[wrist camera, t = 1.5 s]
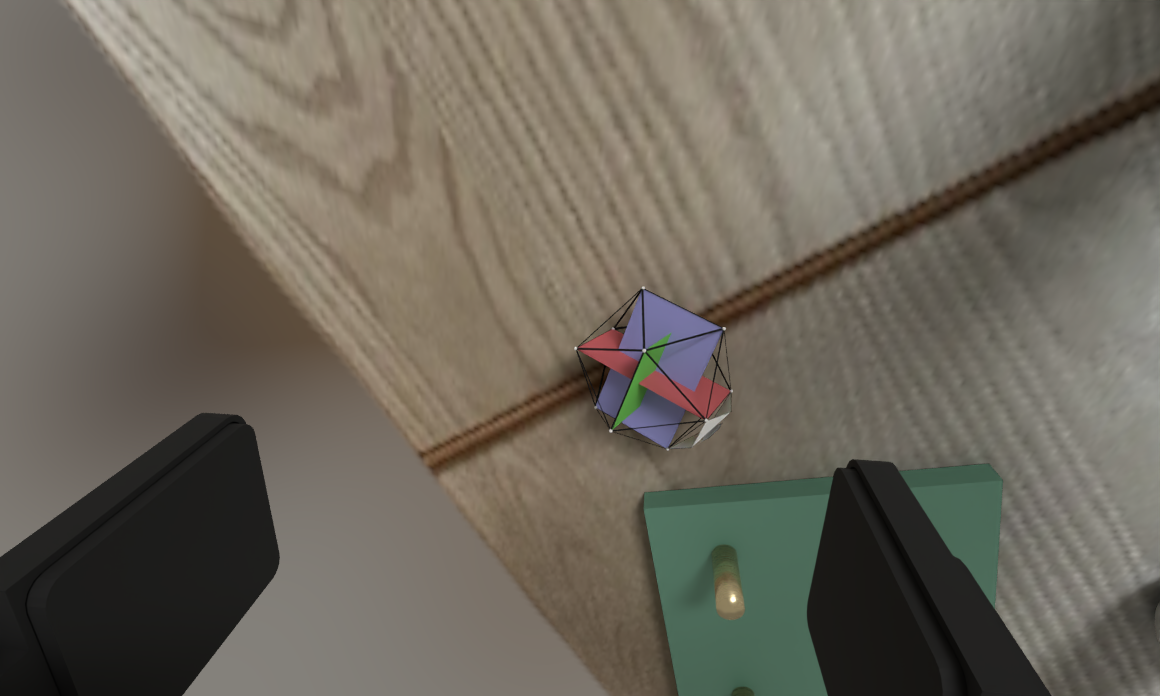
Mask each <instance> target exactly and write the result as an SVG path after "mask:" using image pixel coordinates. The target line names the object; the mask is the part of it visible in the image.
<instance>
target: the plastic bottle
mask: <svg viewBox="0 0 1160 696" xmlns="http://www.w3.org/2000/svg"><path fill="white" fill-rule="evenodd" d="M1155 632H1156V637H1157V639H1158V641H1159V643H1160V601H1159V603H1158V605H1157V608H1156V611H1155Z"/></svg>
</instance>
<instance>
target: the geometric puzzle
mask: <svg viewBox="0 0 1160 696" xmlns="http://www.w3.org/2000/svg"><path fill="white" fill-rule="evenodd" d="M638 292H639V293H638ZM638 292H637V293H638V294H637V293H636V294H637V296H636V297H635V299H634V300H633V301H632V303H631V304H630V306H629V307H628V308H627V310H626V311H625V313H624V314H623V315H622V317H621V318H620V320H619V321H618V322H617V324H616V325H615V327H616V326H617V325H618V323H619V322H620V321H621V319H622V318H623V316H624V315H625V314H626V312H627V311H628V309H629V308H630V307H631V305H632V304H633V302H634V301H635V300H636V298H637V297H638V296H639V298H638V300H637V303H636V305H635V308H634V311H633V313H632V316H631V318H630V321H629V323H628V326H625V327H618V328H615V327H612V329H611V330H609V331H608V332H606V333H604V334H602V335H600V336H598V337H596V338H594V339H592V340H590V341H589V342H587V343H585V344H583V345H581V344H582V343H583V342H585V341H586V340H587V339H588V338H589V337H590V336H591V335H592V334H593V333H594V332H596V331H597V330H598V329H599V328H600V327H601V326H602V325H603V324H604V323H605V322H607V321H608V320H609V319H610V318H611V317H612V316H613V315H614V314H615V313H616V312H618V311H619V310H620V309H621V308H622V307H623V306H624V305H625V304H626V303H627V302H629V301H630V300H631V299H632V298H633V297H634V296H635V295H636V294H635V295H634V296H633V297H632V298H631V299H630V300H629V301H627V302H626V303H625V304H624V305H623V306H622V307H621V308H620V309H619V310H618V311H616V312H615V313H614V314H613V315H612V316H611V317H610V318H609V319H608V320H607V321H605V322H604V323H603V324H602V325H601V326H600V327H599V328H598V329H597V330H596V331H594V332H593V333H592V334H591V335H590V336H589V337H588V338H587V339H586V340H585V341H583V342H582V343H581V344H580V345H581V346H580V345H579V346H578V347H574V350H576V351H577V350H579V351H581V352H583V353H584V354H586V355H588V356H590V357H592V358H593V359H595V360H597V361H599V362H601V363H602V364H604V369H603V373H602V378H601V382H600V386H599V391H598V395H597V396H596V394H595V396H596V398H597V399H596V404H595V402H594V399H593V397H592V399H593V402H594V405H595V407H594V408H595V409H599V410H601V411H602V412H603V415H604V413H606V414H608V415H609V416H611V417H613V418H614V419H615V420H614V422H613V424H612V427H611V429H610V427H608V428H609V432H610V433H612V432H613V431H621V430H630V429H633V430H635V431H637V432H639V433H640V434H642V435H644V436H645V437H647V438H649V439H651V440H652V441H654V442H656V443H657V444H659V445H661V446H663V447H662V448H665V449H666V450H667V451H668V450H669V449H680V448H692V447H694V445H695V444H696V443H697V442H698V441H699V440H701V439H702V438H703V439H702V441H704V440H706V439H708V438H709V437H710V436H712V435H713V434H714V433H715V432H716V431H717V430H718V429H719V428H720V426H721V424H722V423H723V422H722V423H721V424H718V423H719V422H720V421H721V420H723V419H724V418H725V417H726V416H727V415H728V414H729V413H730V412H731V393H732V392H733V390H731V389H730V388H731V384H730V387H729V385H728V383H727V381H726V379H725V377H724V375H723V373H722V371H721V369H720V367H719V365H718V359H719V353H720V348H721V343H722V338H723V333H724V336H725V331H724V330H726V328H725V327H720V326H718V325H716V324H714V323H712V322H710V321H708V320H706V319H704V318H702V317H700V316H698V315H696V314H694V313H692V312H690V311H688V310H686V309H684V308H682V307H680V306H678V305H676V304H674V303H672V302H670V301H668V300H666V299H664V298H662V297H660V296H658V295H656V294H654V293H652V292H650V291H648V290H646V289H645V287H644V286H643V287H642V288H641V290H640V291H638ZM639 294H640V295H639ZM623 328H626V331H625V333H624V334H622V333H620V332H618V331H616V329H623ZM721 334H722V337H721V342H720V347H719V352H718V357H717V361H716V359H715V357H714V355H713V351H714V349H715V347H716V345H717V343H718V340H719V338H720V336H721ZM725 344H726V340H725ZM726 353H727V349H726ZM577 354H578V351H577ZM711 355H712V356H713V358H714V360H715V362H716V368H715V373H714V378H713V381H711V380H709V379H707V378H705V377H703V376H702V375H703V372H704V370H705V368H706V366H707V364H708V362H709V360H710V357H711ZM578 357H579V360H580V363H582V361H581V358H580V356H579V354H578ZM727 362H728V358H727ZM582 365H583V363H582V364H581V366H582ZM606 366H608V367H610V368H611V369H610V371H609V374H608V376H607V379H606V381H605V384H604V386H603V389H602V391H601V394H600V389H601V385H602V380H603V376H604V372H605V367H606ZM717 366H718V368H719V370H720V372H721V374H722V376H723V378H724V380H725V382H726V384H727V386H728V388H729V390H728V389H726V388H724V387H722V386H720V385H718V384H717V383H715V382H714V379H715V374H716V369H717ZM583 368H584V365H583V367H582V369H583ZM584 370H585V368H584ZM584 370H583V372H584ZM728 371H729V366H728ZM585 372H586V370H585ZM584 375H585V373H584ZM586 375H587V372H586ZM587 377H588V375H587ZM585 378H586V376H585ZM588 379H589V377H588ZM729 379H730V375H729ZM586 381H587V379H586ZM589 382H590V380H589ZM587 384H588V382H587ZM590 384H591V382H590ZM591 386H592V384H591ZM588 387H589V385H588ZM592 389H593V387H592ZM589 390H590V388H589ZM593 391H594V389H593ZM590 393H591V391H590ZM594 393H595V391H594ZM729 393H730V394H729ZM599 394H600V397H599ZM728 395H729V396H728ZM591 396H592V394H591ZM727 396H728V397H727ZM726 397H727V399H726V400H725V402H724V403H723V405H722V406H721V408H720V409H719V411H718V412H717V414H716V416H715V417H714V418H713V419H710V420H708V418H709V417H710V416H711V415H712V414H713V412H714V411H715V410H716V409H717V408H718V406H719V405H720V404H721V403H722V402H723V401H724V399H725V398H726ZM598 398H599V399H598ZM686 410H687V411H689V412H691V413H693V414H695V415H696V416H698V417H700V419H701V418H702V419H704V420H703V421H699V420H700V419H699V420H698V421H693V422H684V423H680V421H681V419H682V417H683V415H684V413H685V411H686ZM597 411H598V410H597ZM599 414H600V413H599ZM601 417H602V416H601ZM604 417H605V415H604ZM602 419H603V418H602ZM605 419H606V417H605ZM603 420H604V419H603ZM604 422H605V421H604ZM606 422H607V420H606ZM606 422H605V423H606ZM695 422H696V423H697V422H703V423H704V422H705V424H704V426H703V428H702V429H701V431H700V433H698V434H696V435H694V436H692V437H690V438H688V439H686V440H684V441H682V442H680V443H678V444H676V445H675V446H673V447H671V446H672V445H674V444H675V442H676V441H677V440H678V439H679V438H680V437H682V436H683V435H684V434H685V433H686V432H687V431H688V430H689V429H690V428H691V427H693V426H694V425H695V424H696V423H695ZM620 423H623V424H625V425H627V426H628V427H630V428H629V429H620V430H613V429H614V428H615V427H616V426H617V425H619V424H620ZM686 423H695V424H694V425H693V426H691V427H690V428H689V429H688V430H687V431H686V432H685V433H684V434H683V435H681V436H680V437H679V438H678V439H677V440H676V441H675V442H674V443H673V444H672V445H670V443H671V441H672V438H673V436H674V434H675V432H676V430H677V428H678V426H679V424H686ZM703 423H702V424H703ZM607 424H608V422H607ZM607 424H606V425H607ZM717 424H718V425H717ZM700 425H701V424H700ZM700 425H699V426H700ZM608 426H609V424H608ZM699 426H698V427H699ZM696 428H697V427H696ZM696 428H695V429H696ZM692 431H693V430H692ZM692 431H691V432H692ZM614 433H616V432H614ZM689 433H690V432H689ZM689 433H688V434H689ZM618 434H619V433H618ZM688 434H687V435H688ZM621 435H622V434H621ZM624 436H625V435H624ZM685 436H686V435H685ZM685 436H684V437H685ZM627 437H629V436H627ZM630 438H632V437H630ZM634 439H635V438H634ZM681 439H682V438H681ZM681 439H680V440H681ZM637 440H638V439H637ZM640 441H641V440H640ZM678 441H679V440H678ZM678 441H677V442H678ZM702 441H701V442H702ZM643 442H644V441H643ZM677 442H676V443H677ZM646 443H648V442H646ZM649 444H651V443H649ZM653 445H654V444H653ZM669 445H670V446H669ZM696 445H697V444H696ZM656 446H657V445H656ZM659 447H660V446H659ZM670 447H671V448H670Z"/></svg>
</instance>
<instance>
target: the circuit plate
mask: <svg viewBox="0 0 1160 696" xmlns="http://www.w3.org/2000/svg"><path fill="white" fill-rule="evenodd" d="M899 472H900V474H901V475H902V477H903V479H904V480H905V482H906V483H907V485H908V486H909V488H910V490H911V491H912V493H913V494H914V496H915V497H916V499H917V500H918V502H919V504H920V505H921V507H922V508H923V510H924V511H925V513H926V514H927V516H928V518H929V519H930V521H931V522H932V524H933V525H934V527H935V528H936V530H937V532H938V533H939V535H940V536H941V538H942V539H943V541H944V543H945V544H946V546H947V547H948V549H949V550H950V552H951V553H952V555H953V556H955V557H957V558H959V559H960V560H961V561H962V562H963V563H964V564H965V565H966V566H967V568H968V569H969V571H970V572H971V574H972V575H973V577H974V578H975V580H976V581H977V583H978V584H979V586H980V588H981V589H982V591H983V592H984V594H985V595H986V597H987V598H988V600H989V601H990V603H991V604H992V606H993V607H994V609H995V598H996V582H997V566H998V551H999V535H1000V519H1001V503H1002V487H1003V480H1002V479H1001V478H1000V476H999V475H998V474H997V473H996V471H995V470H994V469H993V468H992V467H991V465H990V464H979V465H967V466H955V467H943V468H931V469H919V470H908V471H899ZM832 480H833V477H824V478H813V479H801V480H789V481H777V482H765V483H753V484H741V485H729V486H718V487H706V488H694V489H682V490H670V491H658V492H646V493H644V514H645V519H646V524H647V530H648V535H649V540H650V546H651V551H652V556H653V562H654V567H655V572H656V578H657V583H658V588H659V594H660V599H661V604H662V610H663V615H664V620H665V626H666V631H667V636H668V642H669V647H670V653H671V658H672V663H673V669H674V674H675V679H676V685H677V690H678V695H679V696H732V691H733V690H734V689H735V688H737V687H748V688H750V689H751V690H753V692H754V694H755V696H828V695H827V691H826V688H825V684H824V681H823V677H822V674H821V670H820V667H819V663H818V660H817V656H816V653H815V649H814V646H813V643H812V639H811V636H810V632H809V628H808V623H807V602H808V597H809V592H810V587H811V583H812V578H813V573H814V568H815V563H816V558H817V553H818V548H819V544H820V539H821V534H822V529H823V524H824V519H825V514H826V509H827V504H828V500H829V495H830V490H831V485H832ZM719 545H729V546H732V547H733V548H734V549H735V550H736V552H737V558H738V564H739V571H740V578H741V585H742V592H743V599H744V606H745V612H744V614H743V616H742V617H740V618H738V619H735V620H727V619H724V618H722V617H720V616H719V615H718V613H717V610H716V599H715V588H714V577H713V566H712V555H711V553H712V550H713V549H714V548H715V547H716V546H719Z"/></svg>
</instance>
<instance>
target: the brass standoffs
mask: <svg viewBox="0 0 1160 696" xmlns="http://www.w3.org/2000/svg"><path fill="white" fill-rule="evenodd" d="M711 555H712V566H713V577H714V588H715V599H716V610H717V613H718V615H719V616H720V617H722V618H724V619H727V620H735V619H738V618H740V617H742V616H743V614H744V612H745V606H744V599H743V592H742V585H741V578H740V571H739V564H738V558H737V552H736V550H735V549H734V548H733V547H732V546H729V545H719V546H716V547H715V548H714V549H713V550H712V553H711ZM732 696H755V694H754V692H753V690H751V689H750V688H748V687H737V688H735V689H734V690H733V691H732Z"/></svg>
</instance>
